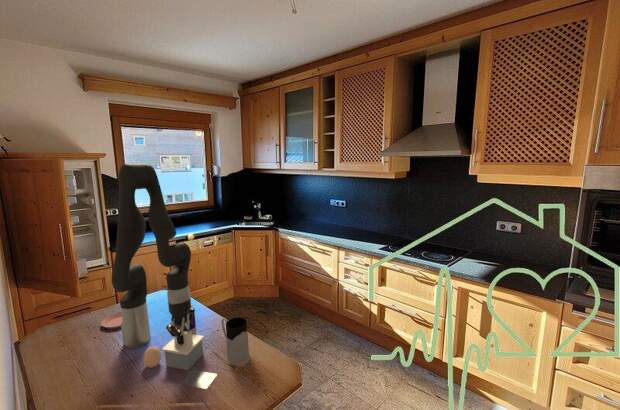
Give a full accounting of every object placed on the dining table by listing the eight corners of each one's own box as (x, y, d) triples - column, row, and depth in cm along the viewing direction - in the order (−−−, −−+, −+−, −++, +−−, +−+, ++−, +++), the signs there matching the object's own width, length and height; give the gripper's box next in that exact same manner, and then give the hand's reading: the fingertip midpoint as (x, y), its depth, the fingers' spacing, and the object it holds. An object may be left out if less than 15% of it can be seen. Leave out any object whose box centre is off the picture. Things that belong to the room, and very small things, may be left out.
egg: (145, 363, 114) (142, 345, 113) (162, 359, 116) (160, 341, 115) (143, 373, 109) (141, 354, 107) (161, 368, 111) (159, 349, 110)
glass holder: (235, 370, 109) (232, 332, 107) (214, 353, 119) (211, 318, 116) (255, 358, 116) (253, 321, 113) (233, 343, 125) (231, 309, 122)
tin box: (166, 367, 111) (164, 350, 110) (182, 351, 120) (181, 335, 119) (188, 371, 109) (186, 354, 108) (203, 355, 118) (202, 338, 117)
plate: (128, 311, 153) (128, 307, 152) (142, 320, 144) (142, 316, 144) (96, 324, 141) (95, 320, 141) (109, 334, 133) (108, 330, 133)
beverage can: (192, 346, 123) (188, 312, 121) (179, 345, 124) (176, 311, 122) (199, 338, 129) (196, 305, 126) (187, 337, 130) (184, 304, 127)
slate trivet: (180, 385, 103) (180, 383, 103) (192, 371, 109) (192, 369, 109) (206, 390, 100) (206, 389, 100) (217, 375, 107) (217, 374, 107)
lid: (162, 350, 110) (160, 338, 109) (180, 334, 120) (179, 323, 119) (187, 355, 107) (185, 342, 106) (204, 337, 117) (203, 326, 116)
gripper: (182, 288, 118) (186, 329, 121) (156, 306, 105) (161, 351, 108) (199, 290, 116) (203, 332, 119) (175, 308, 103) (180, 354, 106)
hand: (183, 341), depth 113 cm, fingers closed on lid, 2 cm apart
